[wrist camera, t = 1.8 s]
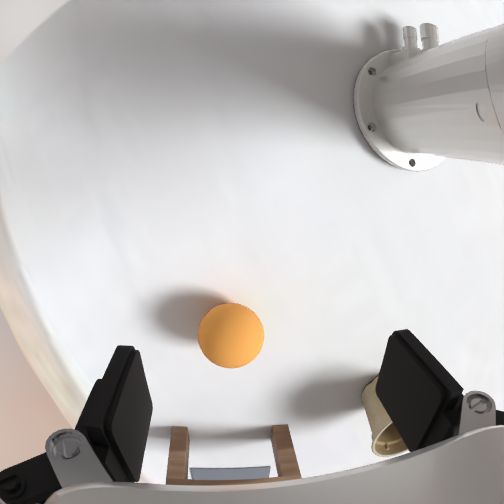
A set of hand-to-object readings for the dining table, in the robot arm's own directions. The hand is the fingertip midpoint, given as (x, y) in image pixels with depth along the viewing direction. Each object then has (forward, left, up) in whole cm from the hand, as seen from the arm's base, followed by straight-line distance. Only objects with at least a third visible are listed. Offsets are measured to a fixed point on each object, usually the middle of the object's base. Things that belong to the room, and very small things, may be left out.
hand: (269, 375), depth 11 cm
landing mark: (+41, -1, -19) cm, 45 cm away
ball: (+8, -1, -16) cm, 18 cm away
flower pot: (+20, +19, -19) cm, 34 cm away
